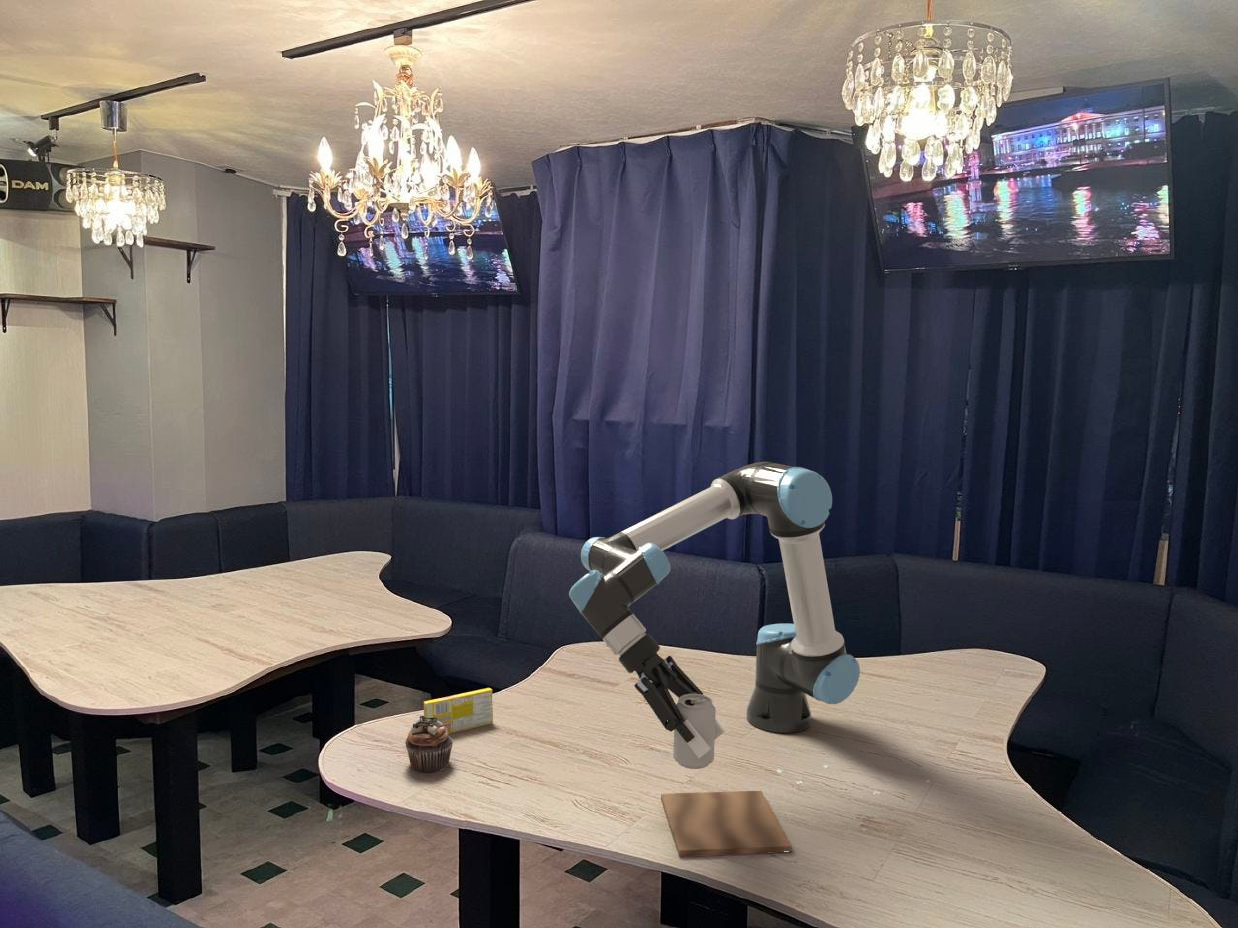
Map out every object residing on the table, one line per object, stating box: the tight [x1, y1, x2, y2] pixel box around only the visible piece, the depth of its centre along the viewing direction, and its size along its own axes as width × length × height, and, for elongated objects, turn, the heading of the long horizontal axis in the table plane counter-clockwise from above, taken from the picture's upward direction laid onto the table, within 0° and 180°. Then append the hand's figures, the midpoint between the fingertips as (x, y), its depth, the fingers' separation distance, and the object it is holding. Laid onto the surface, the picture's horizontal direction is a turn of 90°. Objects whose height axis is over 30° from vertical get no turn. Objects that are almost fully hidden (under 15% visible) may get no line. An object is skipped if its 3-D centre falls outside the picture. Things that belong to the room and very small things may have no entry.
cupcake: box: [405, 715, 454, 774], centre depth 188 cm, size 10×10×10 cm
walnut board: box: [660, 790, 793, 858], centre depth 167 cm, size 20×20×1 cm
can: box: [672, 694, 717, 770], centre depth 165 cm, size 8×8×12 cm
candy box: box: [423, 687, 494, 735], centre depth 206 cm, size 16×2×8 cm, turn 123°
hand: (712, 744), depth 164 cm, fingers closed on can, 7 cm apart
